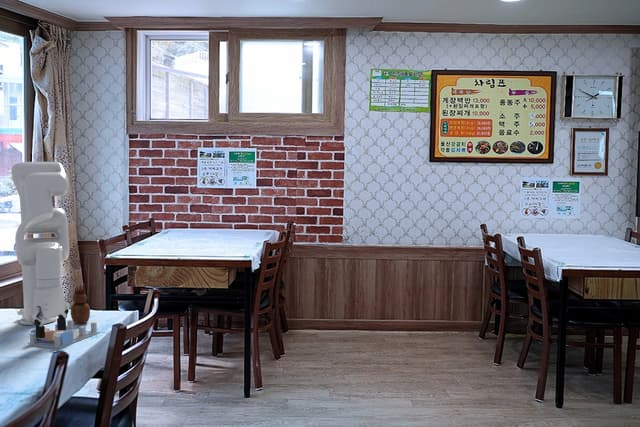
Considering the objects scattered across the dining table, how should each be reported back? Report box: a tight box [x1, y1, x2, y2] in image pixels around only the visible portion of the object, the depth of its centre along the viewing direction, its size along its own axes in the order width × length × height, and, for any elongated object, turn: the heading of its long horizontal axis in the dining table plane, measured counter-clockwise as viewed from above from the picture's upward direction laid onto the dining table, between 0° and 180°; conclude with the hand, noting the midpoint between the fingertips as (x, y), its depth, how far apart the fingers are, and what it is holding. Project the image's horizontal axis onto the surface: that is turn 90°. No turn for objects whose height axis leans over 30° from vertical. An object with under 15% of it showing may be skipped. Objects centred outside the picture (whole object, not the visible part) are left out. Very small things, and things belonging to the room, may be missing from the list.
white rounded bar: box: [35, 329, 63, 342], centre depth 216 cm, size 11×4×4 cm, turn 70°
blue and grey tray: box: [28, 319, 100, 349], centre depth 221 cm, size 13×19×5 cm
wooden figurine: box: [70, 283, 91, 325], centre depth 242 cm, size 7×6×15 cm
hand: (51, 333), depth 216 cm, fingers open, 9 cm apart
